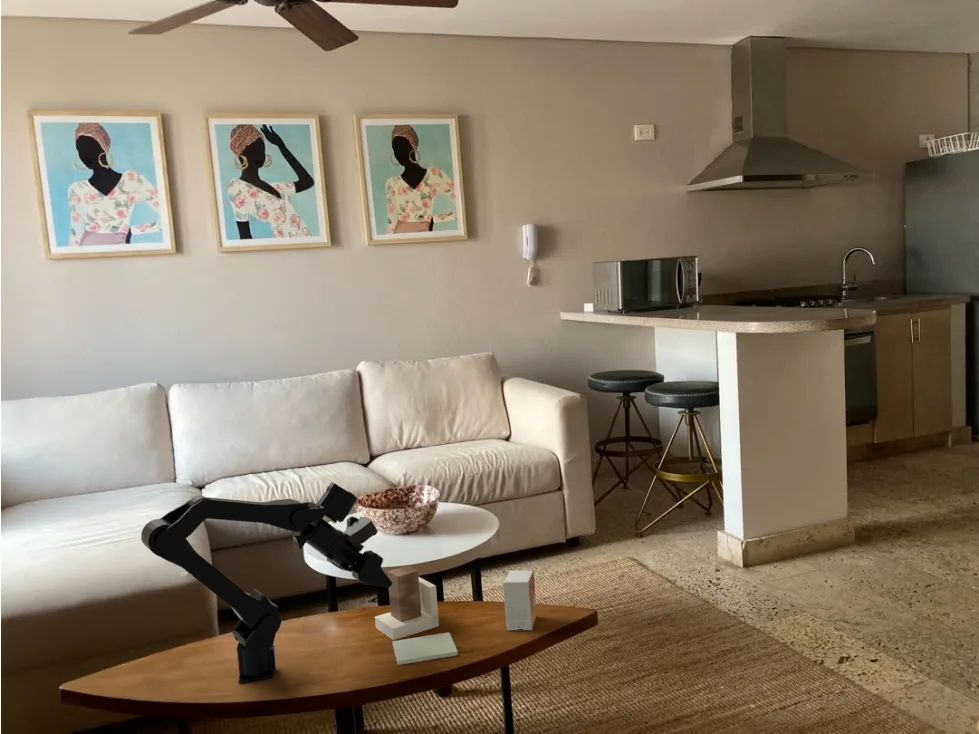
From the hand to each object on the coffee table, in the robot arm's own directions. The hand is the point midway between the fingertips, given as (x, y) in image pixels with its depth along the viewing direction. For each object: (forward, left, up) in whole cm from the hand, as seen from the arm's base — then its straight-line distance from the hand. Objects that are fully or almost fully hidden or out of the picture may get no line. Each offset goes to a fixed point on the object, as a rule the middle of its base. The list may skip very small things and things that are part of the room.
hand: (381, 579), depth 171 cm
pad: (+7, -12, -12) cm, 18 cm away
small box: (+29, -6, -12) cm, 32 cm away
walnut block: (+5, +2, -9) cm, 11 cm away
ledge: (+5, +2, -12) cm, 13 cm away
